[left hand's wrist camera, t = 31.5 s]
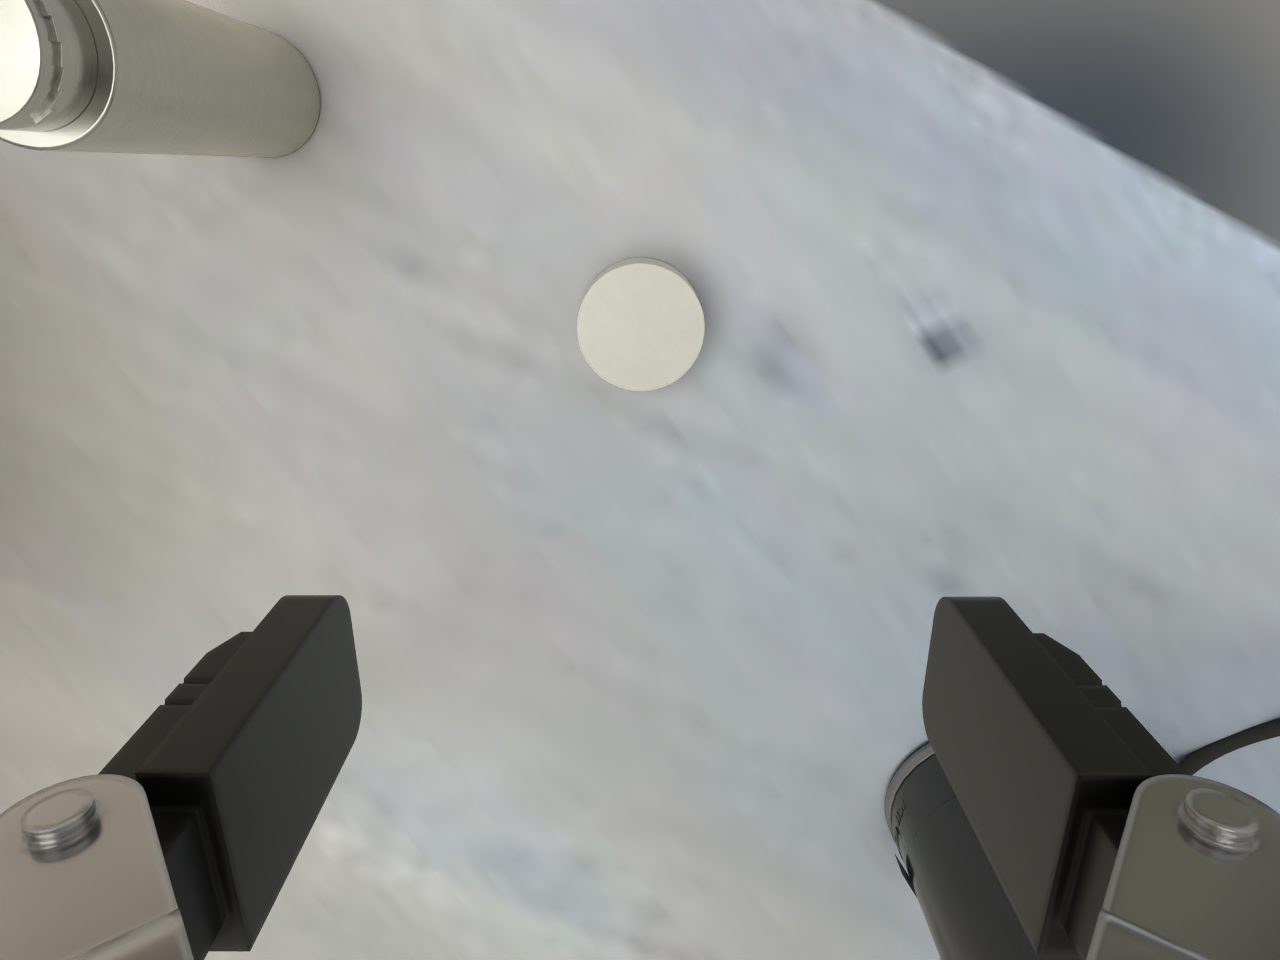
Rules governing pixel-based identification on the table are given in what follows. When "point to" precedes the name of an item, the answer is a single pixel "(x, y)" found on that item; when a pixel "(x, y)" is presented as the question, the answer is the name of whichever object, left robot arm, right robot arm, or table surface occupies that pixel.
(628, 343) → the lid
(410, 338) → the table surface
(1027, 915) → the left robot arm
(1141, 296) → the table surface
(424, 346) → the table surface
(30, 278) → the table surface
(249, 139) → the cylinder
